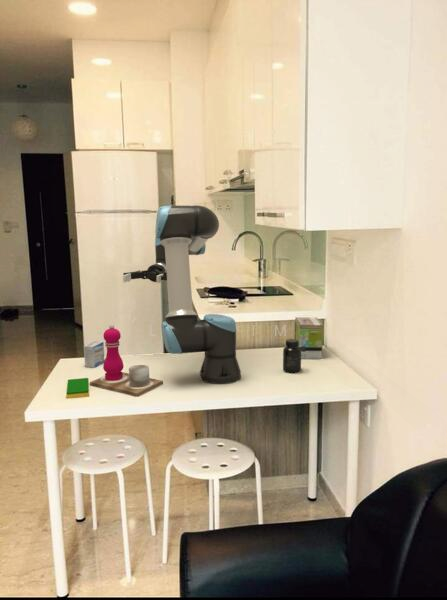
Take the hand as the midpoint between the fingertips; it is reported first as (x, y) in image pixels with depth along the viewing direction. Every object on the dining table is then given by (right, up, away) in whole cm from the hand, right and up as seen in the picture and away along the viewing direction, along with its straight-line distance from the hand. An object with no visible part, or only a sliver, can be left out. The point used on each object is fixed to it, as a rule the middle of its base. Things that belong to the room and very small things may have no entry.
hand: (140, 279), depth 196 cm
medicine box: (-20, -34, +8) cm, 40 cm away
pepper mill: (-8, -37, -12) cm, 39 cm away
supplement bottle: (+58, -36, -1) cm, 68 cm away
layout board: (-2, -38, -15) cm, 41 cm away
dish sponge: (-18, -40, -20) cm, 48 cm away
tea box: (+68, -31, +20) cm, 78 cm away
